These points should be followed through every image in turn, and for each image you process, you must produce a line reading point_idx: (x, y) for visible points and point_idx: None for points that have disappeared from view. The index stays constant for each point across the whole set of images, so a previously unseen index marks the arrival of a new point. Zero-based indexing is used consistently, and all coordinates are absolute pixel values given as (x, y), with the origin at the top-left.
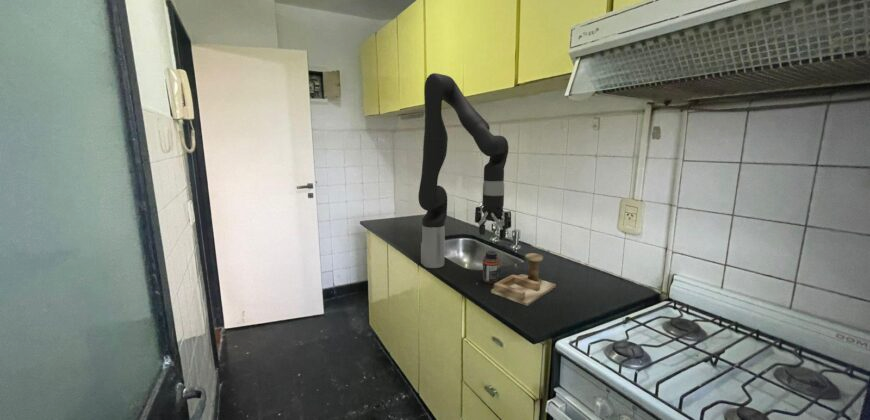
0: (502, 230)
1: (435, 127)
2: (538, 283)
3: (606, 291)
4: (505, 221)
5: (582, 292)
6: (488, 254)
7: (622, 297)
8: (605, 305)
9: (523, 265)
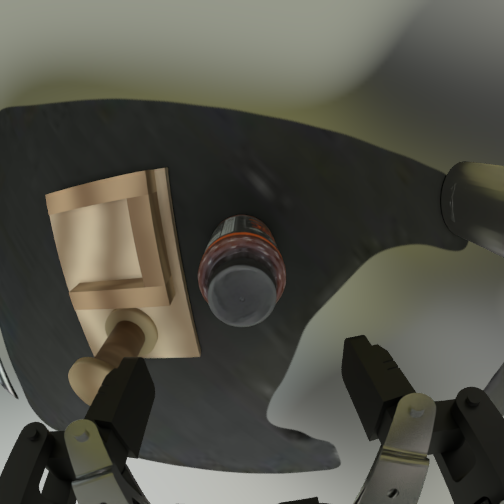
0: (95, 422)
1: None
2: (73, 302)
3: (52, 389)
4: (16, 482)
5: (58, 361)
6: (234, 264)
7: (29, 380)
8: (10, 333)
9: (256, 407)
